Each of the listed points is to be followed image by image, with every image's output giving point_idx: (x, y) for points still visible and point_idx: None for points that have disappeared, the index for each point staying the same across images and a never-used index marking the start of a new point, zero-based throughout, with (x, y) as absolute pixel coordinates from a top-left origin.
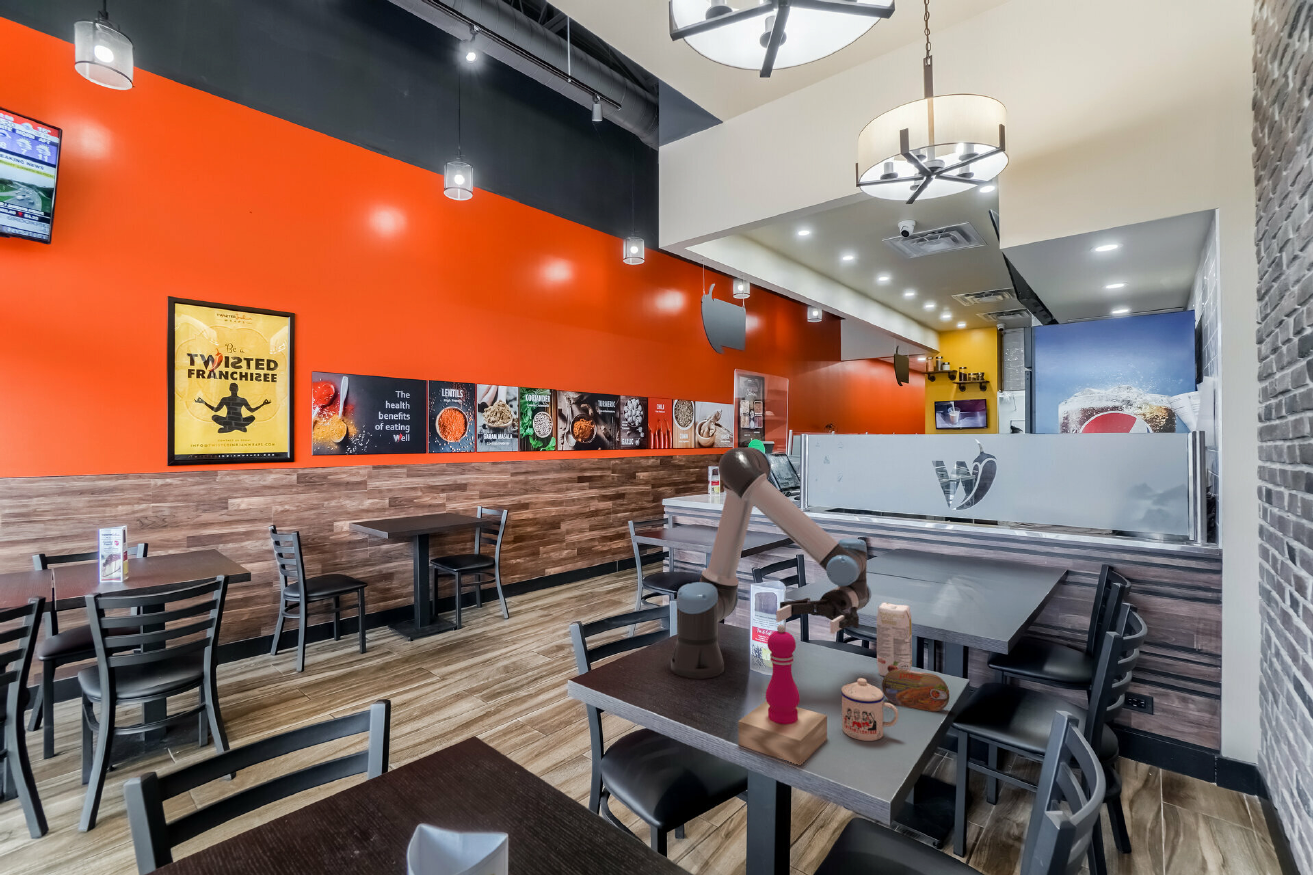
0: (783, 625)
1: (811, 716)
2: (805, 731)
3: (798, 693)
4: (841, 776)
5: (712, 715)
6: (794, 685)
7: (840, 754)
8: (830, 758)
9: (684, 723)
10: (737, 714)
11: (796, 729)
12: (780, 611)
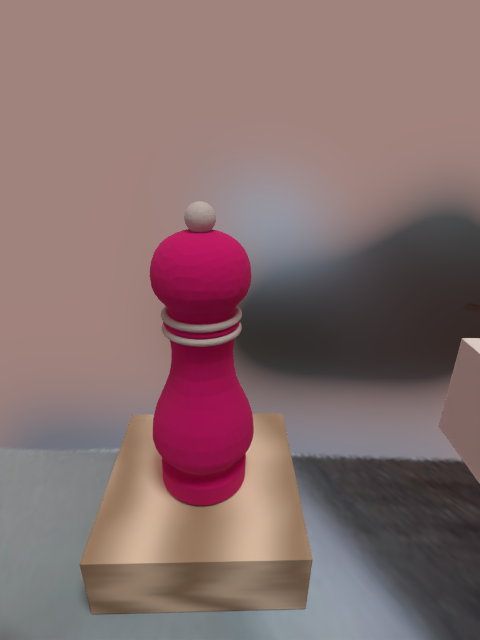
0: (191, 204)
1: (131, 526)
2: (129, 448)
3: (155, 422)
4: (50, 467)
5: (439, 530)
6: (163, 393)
7: (49, 546)
8: (76, 514)
9: (430, 461)
10: (405, 583)
11: (152, 444)
12: (475, 364)
